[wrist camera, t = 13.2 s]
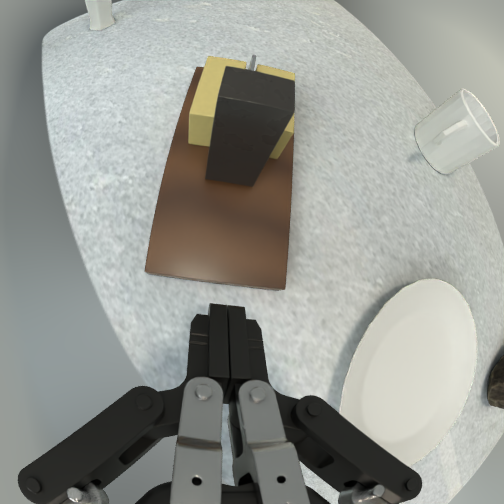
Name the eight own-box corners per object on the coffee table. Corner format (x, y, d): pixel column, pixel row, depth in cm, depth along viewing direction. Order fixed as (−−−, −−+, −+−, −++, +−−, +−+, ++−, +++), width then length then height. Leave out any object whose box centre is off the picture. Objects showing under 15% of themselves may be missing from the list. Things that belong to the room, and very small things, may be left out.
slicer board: (279, 290, 21) (285, 289, 20) (147, 274, 19) (144, 271, 18) (290, 94, 25) (294, 85, 24) (195, 76, 23) (196, 66, 22)
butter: (277, 159, 22) (294, 132, 18) (188, 144, 20) (189, 113, 16) (281, 101, 23) (295, 73, 19) (204, 86, 22) (208, 55, 18)
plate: (377, 490, 19) (387, 498, 17) (282, 382, 20) (291, 390, 18) (476, 369, 25) (488, 370, 23) (425, 242, 26) (439, 237, 23)
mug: (388, 131, 27) (439, 86, 18) (430, 121, 31) (472, 88, 21) (422, 189, 27) (483, 157, 17) (458, 167, 30) (504, 141, 21)
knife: (252, 187, 20) (295, 112, 11) (204, 179, 19) (217, 96, 11) (263, 92, 22) (294, 17, 13) (224, 85, 22) (243, 6, 13)
